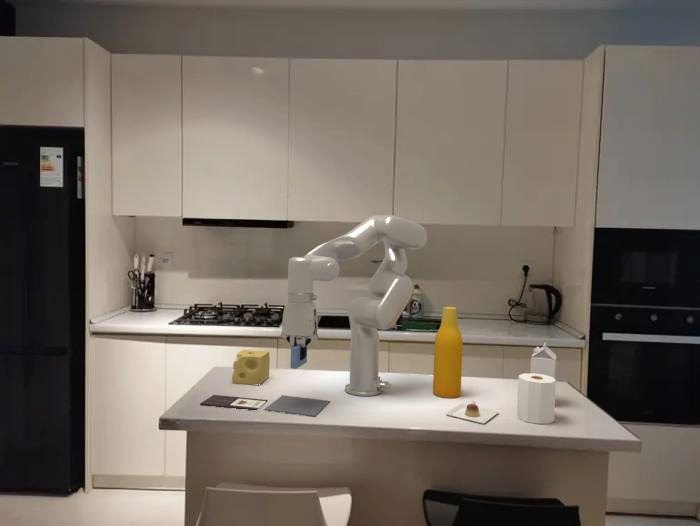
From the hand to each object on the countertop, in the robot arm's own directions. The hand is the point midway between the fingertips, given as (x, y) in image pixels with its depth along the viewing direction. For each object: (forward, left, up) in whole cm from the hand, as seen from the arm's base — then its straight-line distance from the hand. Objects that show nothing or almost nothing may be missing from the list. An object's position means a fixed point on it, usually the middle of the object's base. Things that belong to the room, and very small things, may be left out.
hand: (298, 358), depth 161 cm
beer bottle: (-42, -28, -15) cm, 53 cm away
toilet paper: (-69, -14, -15) cm, 72 cm away
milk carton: (-72, -30, -15) cm, 79 cm away
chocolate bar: (+19, +4, -15) cm, 25 cm away
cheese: (+25, -20, -15) cm, 35 cm away
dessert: (-51, -11, -15) cm, 54 cm away
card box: (0, 0, -2) cm, 2 cm away
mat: (0, 0, -15) cm, 15 cm away
